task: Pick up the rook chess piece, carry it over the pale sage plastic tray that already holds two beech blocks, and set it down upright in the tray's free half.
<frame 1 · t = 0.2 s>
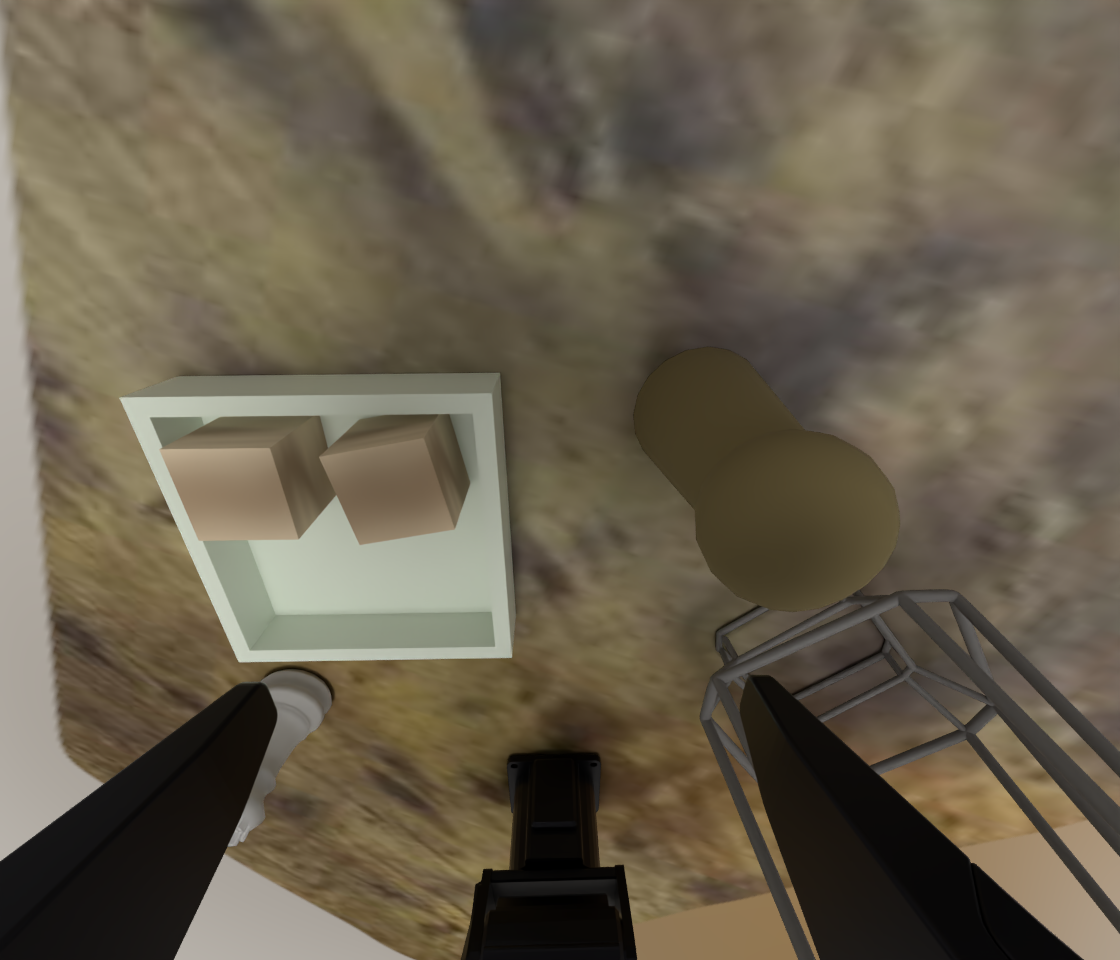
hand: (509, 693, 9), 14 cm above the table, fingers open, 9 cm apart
tray: (370, 512, 24), on the table
rook chess piece: (300, 687, 30), on the table
geometric lantern: (813, 645, 29), on the table
beech block B: (416, 452, 22), point 1 cm above the table, touching tray
beech block A: (285, 454, 21), point 1 cm above the table, touching tray
cork: (697, 412, 22), on the table
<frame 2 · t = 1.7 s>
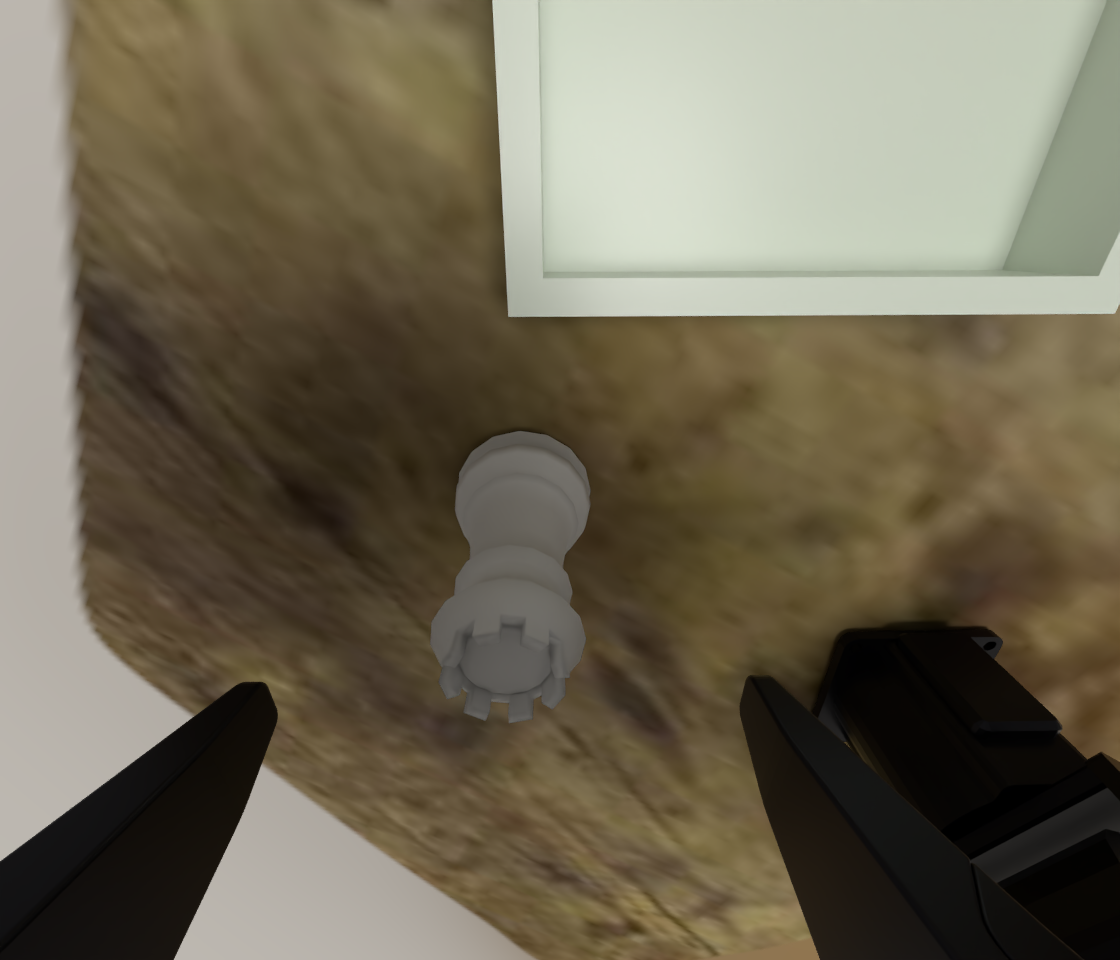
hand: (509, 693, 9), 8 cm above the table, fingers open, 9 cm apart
rook chess piece: (525, 483, 16), on the table
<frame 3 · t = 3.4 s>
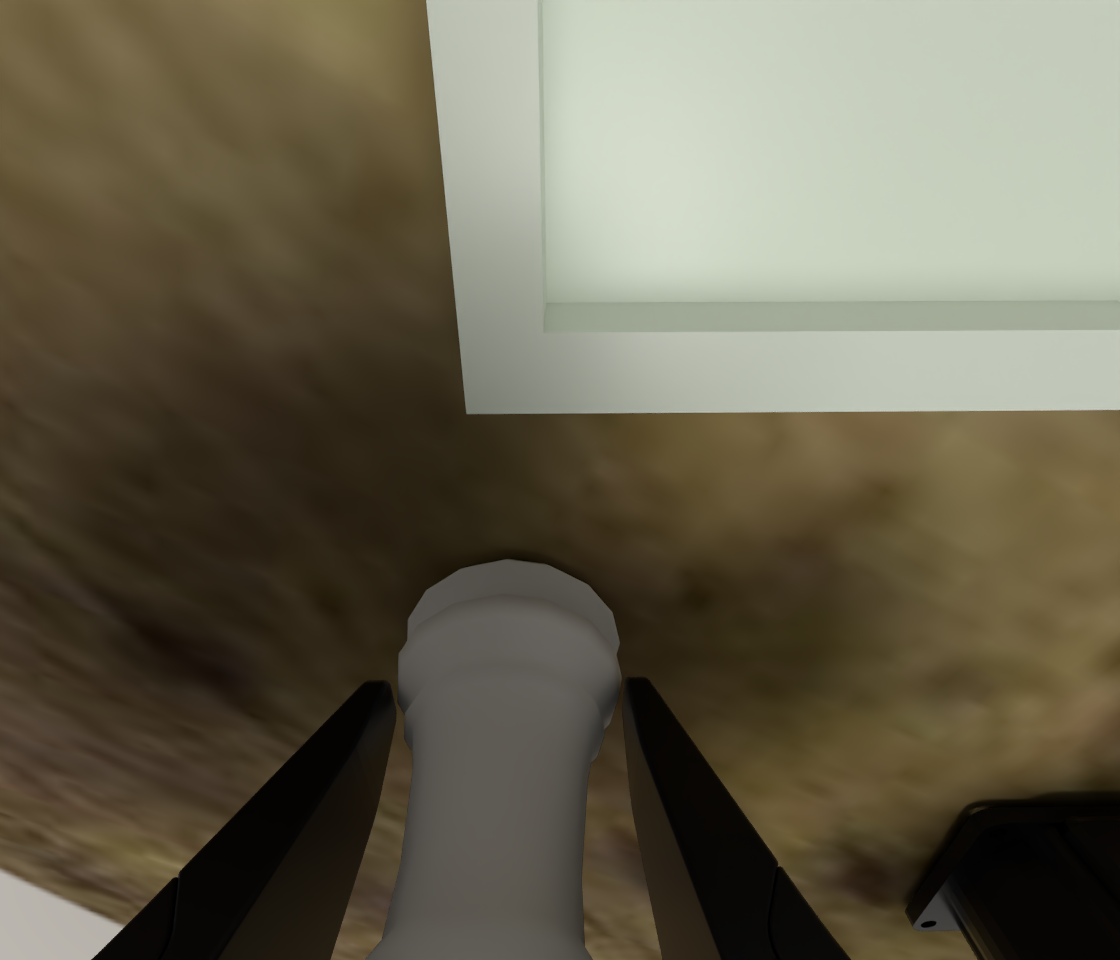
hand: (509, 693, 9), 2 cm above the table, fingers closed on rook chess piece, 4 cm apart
rook chess piece: (515, 623, 10), on the table, touching gripper
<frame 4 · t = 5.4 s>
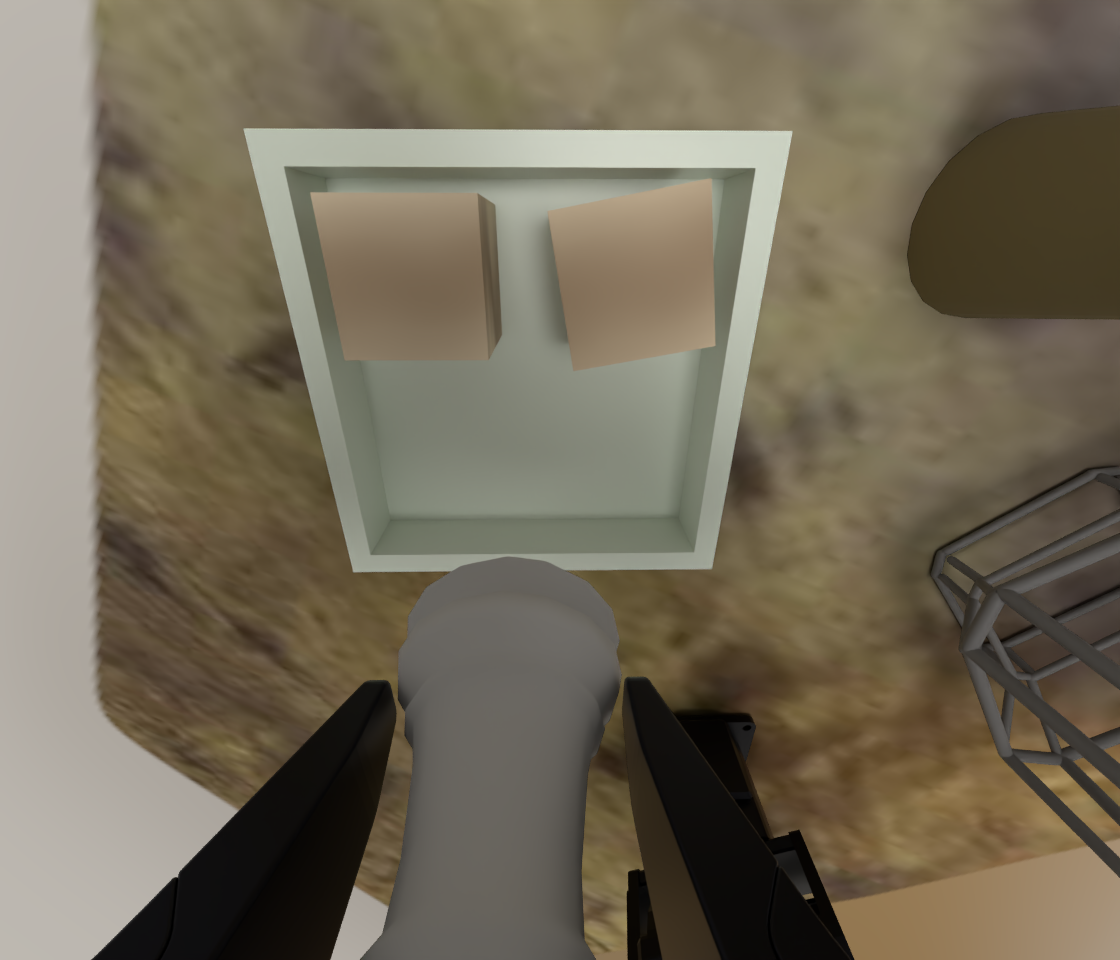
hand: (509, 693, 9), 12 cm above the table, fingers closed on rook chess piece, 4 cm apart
tray: (532, 372, 18), on the table
rook chess piece: (515, 620, 10), point 10 cm above the table, touching gripper
geometric lantern: (1047, 573, 23), on the table
beech block B: (617, 273, 16), point 1 cm above the table, touching tray
beech block A: (439, 273, 16), point 1 cm above the table, touching tray
cork: (995, 224, 16), on the table
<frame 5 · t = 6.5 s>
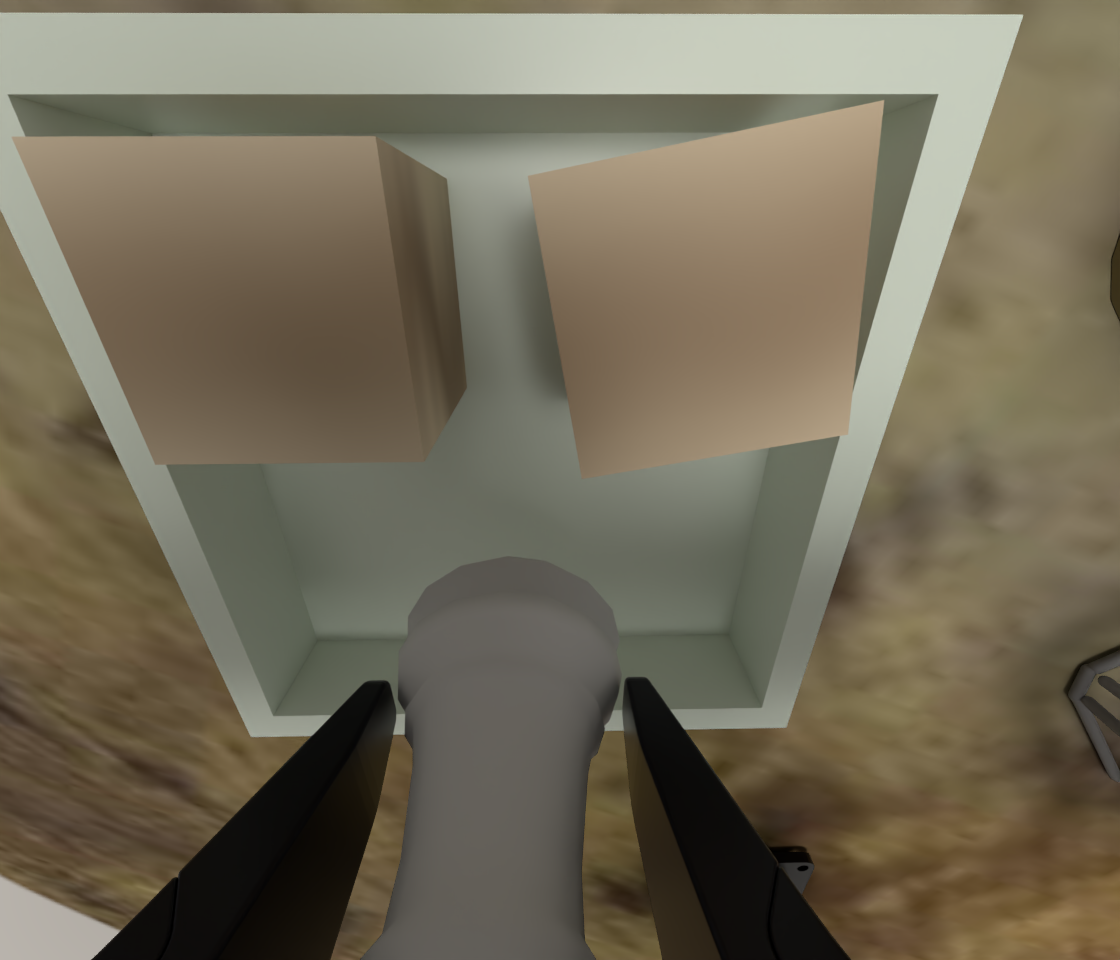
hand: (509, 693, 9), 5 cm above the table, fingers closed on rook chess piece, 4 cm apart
tray: (516, 438, 12), on the table
rook chess piece: (515, 620, 10), point 3 cm above the table, touching gripper
beech block B: (650, 291, 10), point 1 cm above the table, touching tray
beech block A: (360, 293, 10), point 1 cm above the table, touching tray
when the fingers open (3 cm above the table, at t = 7.6 s): rook chess piece stays where it is, resting on tray.
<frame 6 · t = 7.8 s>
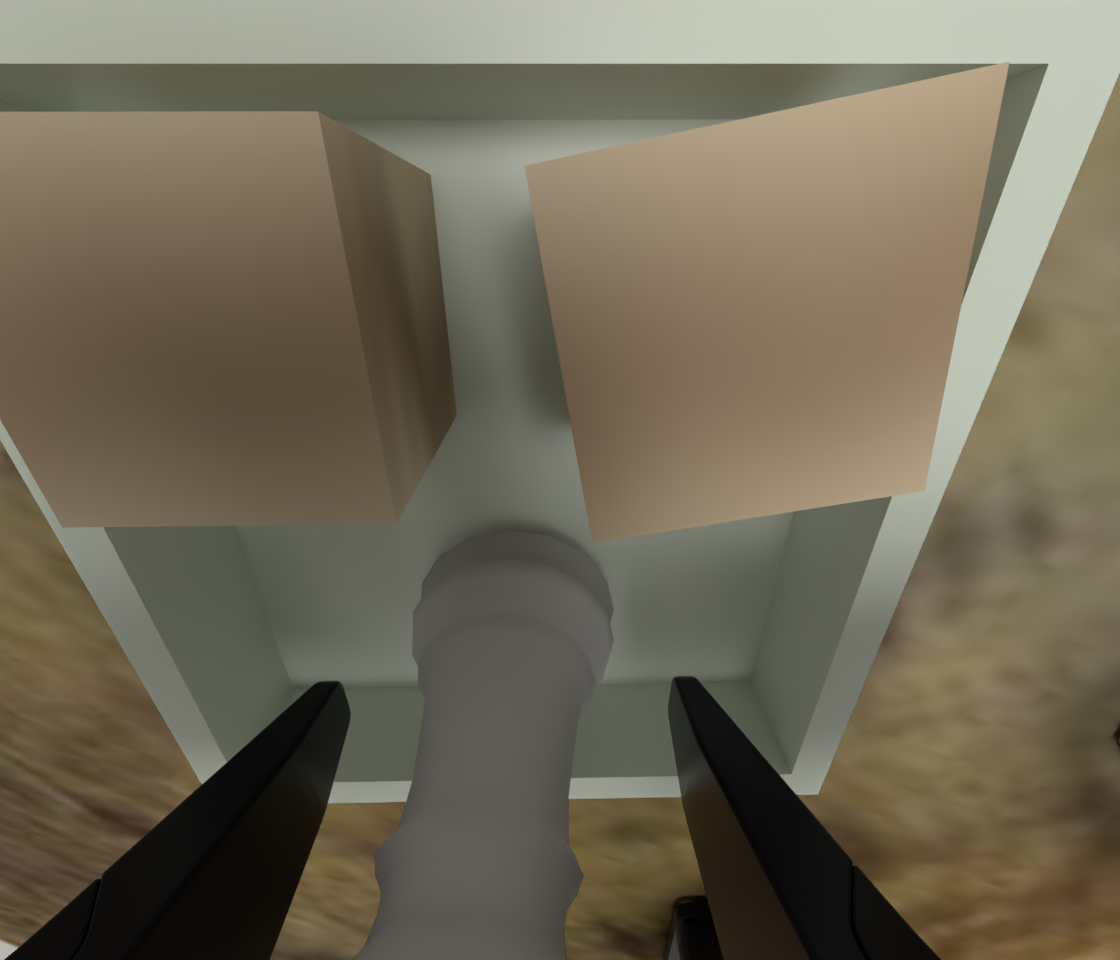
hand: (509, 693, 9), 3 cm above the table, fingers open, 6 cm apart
tray: (513, 470, 10), on the table
rook chess piece: (519, 591, 11), resting on tray
beech block B: (669, 306, 8), point 1 cm above the table, touching tray
beech block A: (332, 308, 8), point 1 cm above the table, touching tray
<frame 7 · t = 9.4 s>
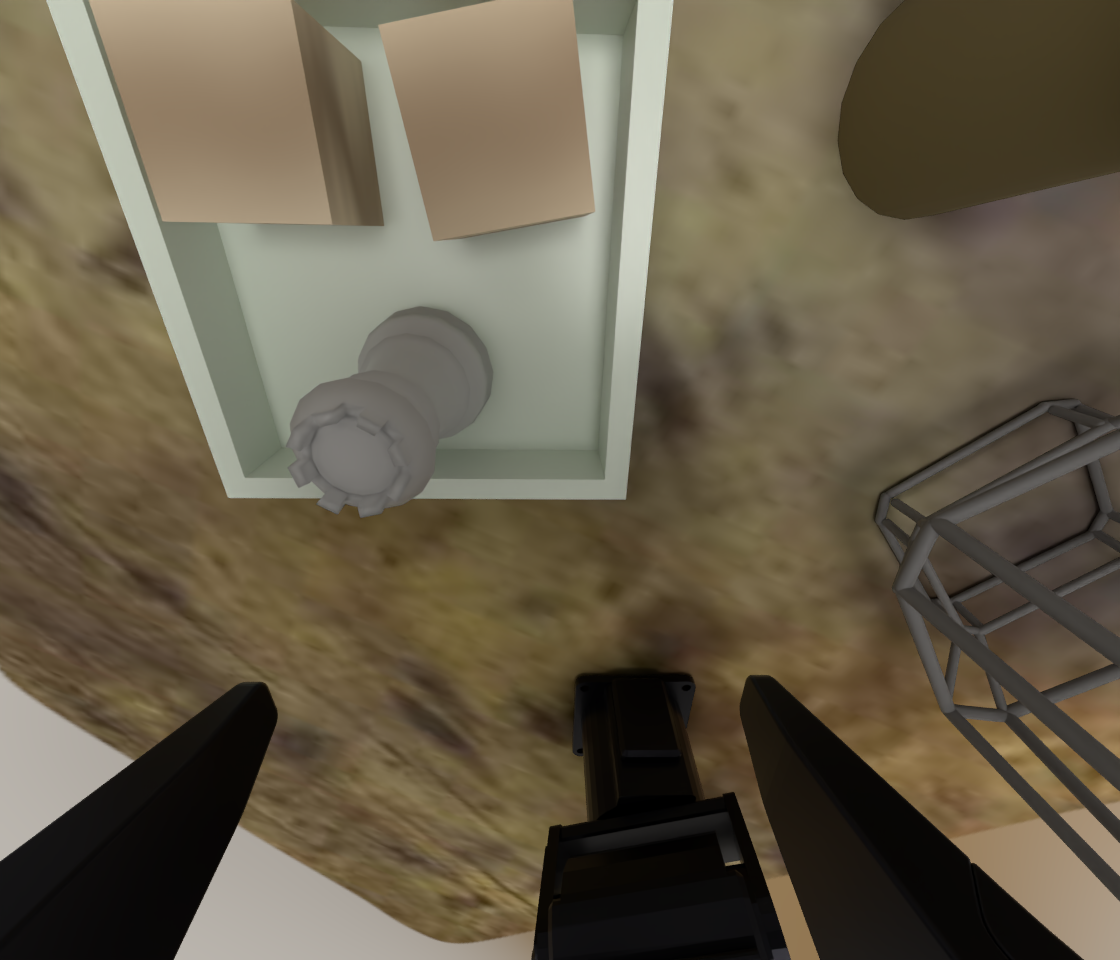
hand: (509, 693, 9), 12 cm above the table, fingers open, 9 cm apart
tray: (426, 276, 16), on the table
rook chess piece: (434, 368, 17), resting on tray
geometric lantern: (999, 520, 22), on the table
beech block B: (509, 152, 14), point 1 cm above the table, touching tray
beech block A: (305, 147, 14), point 1 cm above the table, touching tray
cork: (935, 106, 14), on the table
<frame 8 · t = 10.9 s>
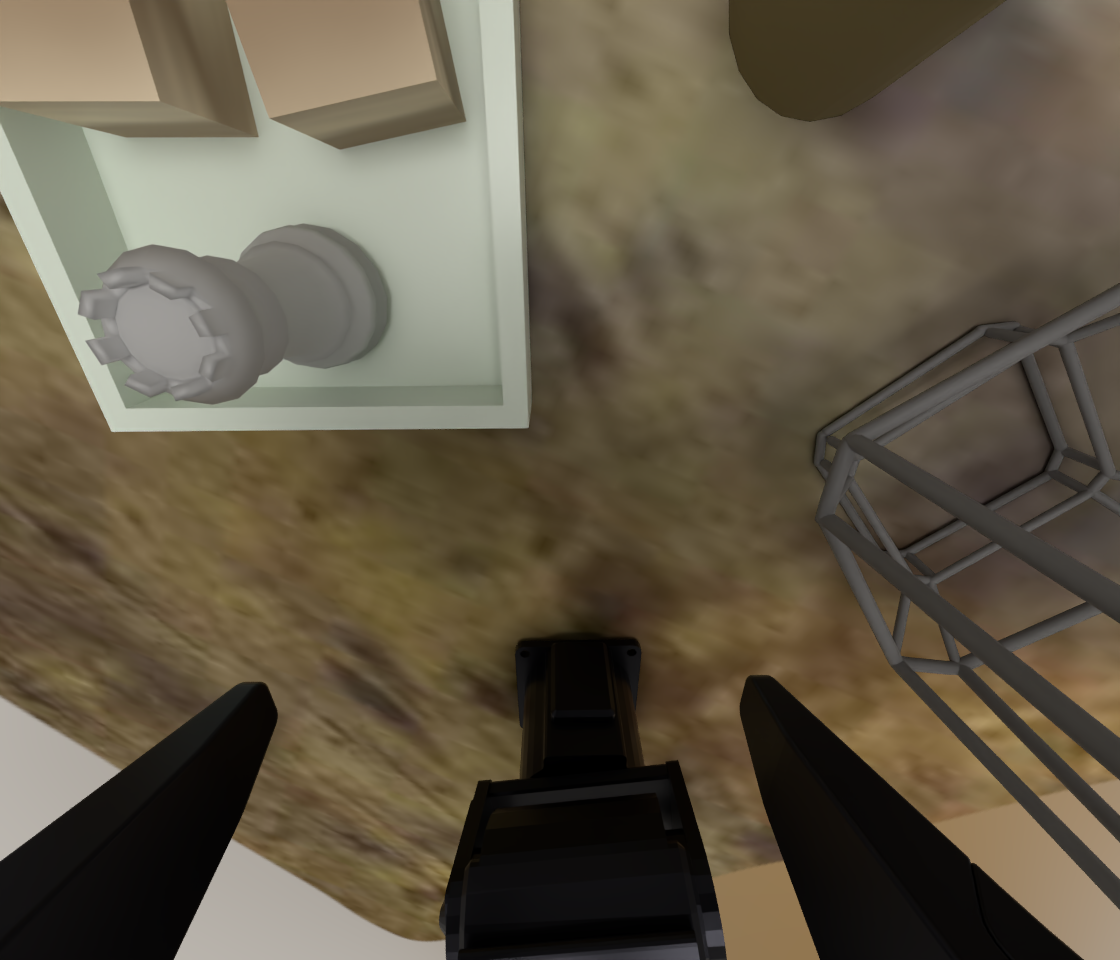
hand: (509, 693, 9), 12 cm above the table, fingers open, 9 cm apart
tray: (313, 196, 15), on the table
rook chess piece: (329, 296, 16), resting on tray
geometric lantern: (948, 462, 20), on the table
beech block B: (379, 51, 13), point 1 cm above the table, touching tray
beech block A: (167, 51, 13), point 1 cm above the table, touching tray
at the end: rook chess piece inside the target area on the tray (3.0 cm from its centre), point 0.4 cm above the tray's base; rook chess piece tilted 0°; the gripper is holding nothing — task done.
